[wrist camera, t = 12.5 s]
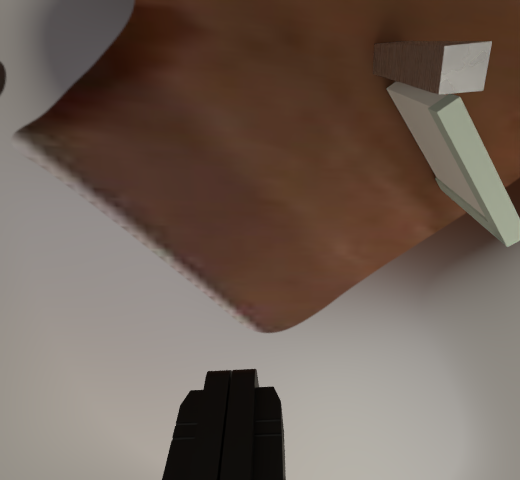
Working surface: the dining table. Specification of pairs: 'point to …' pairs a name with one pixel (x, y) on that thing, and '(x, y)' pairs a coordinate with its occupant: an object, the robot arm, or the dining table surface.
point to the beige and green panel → (458, 157)
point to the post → (434, 64)
